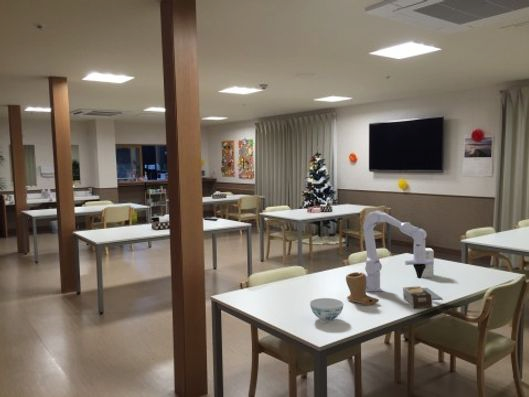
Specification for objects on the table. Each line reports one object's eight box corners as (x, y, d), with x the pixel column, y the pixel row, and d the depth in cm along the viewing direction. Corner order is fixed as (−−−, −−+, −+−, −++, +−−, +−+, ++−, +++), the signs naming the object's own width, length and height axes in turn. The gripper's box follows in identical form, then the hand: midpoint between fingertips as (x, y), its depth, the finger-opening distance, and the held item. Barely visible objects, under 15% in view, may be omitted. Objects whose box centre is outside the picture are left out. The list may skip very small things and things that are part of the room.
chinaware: (309, 325, 190) (309, 307, 190) (310, 313, 205) (310, 297, 204) (344, 326, 188) (343, 308, 187) (343, 314, 202) (343, 298, 202)
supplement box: (433, 277, 266) (434, 250, 265) (418, 277, 268) (418, 250, 267) (431, 274, 276) (431, 247, 274) (415, 273, 277) (416, 247, 276)
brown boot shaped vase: (341, 300, 224) (340, 272, 223) (358, 296, 230) (358, 268, 229) (362, 308, 211) (362, 278, 210) (379, 304, 217) (379, 274, 216)
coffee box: (419, 285, 225) (432, 294, 209) (420, 297, 225) (433, 307, 209) (402, 287, 225) (413, 296, 209) (403, 299, 225) (414, 309, 209)
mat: (421, 299, 223) (421, 298, 223) (407, 289, 243) (407, 288, 243) (442, 299, 223) (442, 298, 223) (426, 288, 243) (426, 287, 243)
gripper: (408, 254, 223) (408, 280, 224) (436, 253, 223) (436, 279, 224) (403, 251, 230) (403, 276, 231) (430, 251, 230) (430, 276, 231)
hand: (419, 278), depth 228 cm, fingers closed
